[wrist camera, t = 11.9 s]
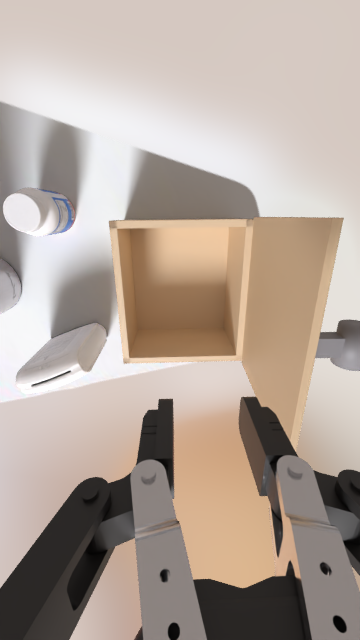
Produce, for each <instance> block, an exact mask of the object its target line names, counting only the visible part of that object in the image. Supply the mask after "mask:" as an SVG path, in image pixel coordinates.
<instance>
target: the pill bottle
mask: <svg viewBox="0 0 360 640" xmlns="http://www.w3.org/2000/svg"><path fill="white" fill-rule="evenodd" d="M3 213H4V216H5V219H6V220H7V222H8V223H9V224H10V225H11V226H12V227H13V228H14V229H16V230H18V231H21V232H25V233H27V234H29V235H32V236H46V235H51V234H57V233H62V232H65V231H67V230H69V229H70V228H71V227H72V225H73V224H74V221H75V211H74V208H73V206H72V204H71V202H70V201H69V200H68V199H67V198H66V197H65V196H64V195H62V194H60V193H57V192H52V191H47V190H41V189H36V188H24V189H21V190H19V191H17V192H16V193H14V194H11V195H9V196H8V197H7V198H6V199H5V201H4V203H3Z"/></svg>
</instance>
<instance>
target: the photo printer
mask: <svg viewBox="0 0 360 640" xmlns="http://www.w3.org/2000/svg"><path fill="white" fill-rule="evenodd" d="M106 336H107V333H106V330H105V329H104V327H103V326H101V325H100V324H98V323H92V324H89V325H85V326H82V327H80V328H77V329H74V330H72V331H69V332H66V333H64V334H61V335H59V336H56V337H54V338H52V339H51V340H49V341H48V342H47V343H46V344H45V345H44V346H43V347H42V348H41V349H40V350H39V351H38V352H37V353H36V354H35V355H34V356H33V357H32V358H31V359H30V360H29V361H28V362H27V363H26V364H25V365H24V366H23V367H22V368H21V369H20V370H19V371H18V373H17V376H16V385H17V386H18V387H19V388H20V389H21V391H22V392H24V393H38V392H43V391H47V390H51V389H54V388H57V387H60V386H62V385H65V384H67V383H70V382H72V381H74V380H76V379H78V378H80V377H82V376H84V375H85V374H87V373H88V372H89V371H90V370H91V369H92V367H93V365H94V363H95V362H96V360H97V358H98V356H99V354H100V353H101V351H102V349H103V347H104V345H105V343H106V341H107V339H106Z"/></svg>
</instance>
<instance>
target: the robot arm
mask: <svg viewBox="0 0 360 640" xmlns="http://www.w3.org/2000/svg"><path fill="white" fill-rule="evenodd" d="M20 296H21V283H20V280H19V277H18V275H17V274H16V272H15V270H14V269H13V268H12V267H11V266H10V265H9V264H8V263H7V262H6V261H4V260H2V259H1V258H0V314H2V313H3V312H5V311H7V310H9V309H10V308H12V307H13V306H14V305H16V303H17V302H18V301H19V298H20ZM158 405H159V406H158V410H148V411H147V413H146V414H145V416H144V418H143V424H142V430H141V438H140V445H139V451H138V458H137V463H136V466H135V467H134V469H133V470H132V472H131V473H130V474H129V475H127V476H126V477H124V478H122V479H120V480H117V481H114V482H111V483H107V481H106V480H104V479H103V478H99V477H93V478H89V479H86V480H84V481H83V482H81V483H80V484H79V485H78V486H77V487H76V488H75V489H74V491H73V492H72V493H71V495H70V496H69V497H68V499H67V500H66V501H65V503H64V504H63V506H62V507H61V508H60V510H59V511H58V512H57V514H56V515H55V516H54V518H53V519H52V520H51V521H50V523H49V524H48V525H47V527H46V528H45V529H44V531H43V532H42V533H41V535H40V536H39V538H38V539H37V540H36V542H35V543H34V544H33V545H32V547H31V548H30V550H29V551H28V552H27V554H26V555H25V556H24V558H23V559H22V560H21V562H20V563H19V564H18V566H17V567H16V568H15V570H14V571H13V572H12V574H11V575H10V576H9V578H8V579H7V581H6V582H5V583H4V584H3V586H2V587H1V588H0V640H69V639H70V637H71V635H72V633H73V631H74V629H75V627H76V625H77V623H78V621H79V619H80V617H81V615H82V613H83V611H84V609H85V607H86V605H87V603H88V601H89V599H90V597H91V595H92V593H93V591H94V589H95V587H96V585H97V583H98V580H99V579H100V576H101V575H102V573H103V571H104V568H105V567H106V565H107V563H108V560H109V558H110V556H111V554H112V552H113V550H114V548H115V546H117V545H120V544H121V543H124V542H126V541H129V540H131V539H133V538H135V544H136V555H137V567H138V580H139V592H140V605H141V617H142V627H141V628H140V630H139V632H138V634H137V635H136V638H135V639H134V640H360V592H359V589H358V585H357V583H356V579H355V576H354V573H353V570H352V567H353V568H354V569H355V570H356V572H357V573H358V574H359V575H360V472H358V471H354V470H343V471H341V472H340V473H339V475H338V477H334V476H330V475H327V474H322V473H319V472H316V471H314V470H313V469H312V468H311V466H310V465H309V464H308V463H307V462H306V461H304V460H303V459H301V458H299V457H298V456H297V454H296V452H295V450H294V448H293V446H292V444H291V442H290V440H289V438H288V436H287V435H286V433H285V431H284V429H283V427H282V425H281V424H280V421H279V419H278V417H277V415H276V414H275V413H274V412H273V411H272V410H271V409H270V408H269V407H261V405H260V403H259V401H258V398H257V397H242V398H241V402H240V413H239V429H240V434H241V438H242V441H243V444H244V447H245V450H246V453H247V457H248V460H249V463H250V466H251V469H252V473H253V476H254V479H255V482H256V485H257V489H258V492H259V495H260V496H268V498H269V501H270V508H269V515H270V524H271V532H272V541H273V550H274V558H275V576H273V577H270V578H268V579H265V580H263V581H261V582H258V583H256V584H254V585H252V586H249V587H247V588H238V587H235V586H232V585H228V584H225V583H222V582H218V581H215V580H211V579H197V580H193V578H192V573H191V569H190V565H189V560H188V556H187V552H186V547H185V543H184V540H183V535H182V531H181V527H180V523H179V521H177V519H176V515H175V510H174V506H173V502H172V499H174V424H173V423H174V422H173V399H159V404H158ZM351 566H352V567H351Z"/></svg>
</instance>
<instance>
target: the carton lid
mask: <svg viewBox="0 0 360 640" xmlns="http://www.w3.org/2000/svg"><path fill="white" fill-rule="evenodd" d="M343 219H344V218H305V217H300V218H298V217H254V223H253V234H252V246H251V258H250V269H249V281H248V292H247V304H246V315H245V327H244V339H243V350H242V364H243V367H244V369H245V371H246V374H247V376H248V379H249V381H250V383H251V385H252V388H253V390H254V393H255V395H256V397H257V398H258V401H259V403H260V405H261V407H269V408H270V409H271V410H272V411H273V412H274V413H275V414H276V415H277V417H278V419H279V421H280V424H281V425H282V427H283V429H284V431H285V433H286V435H287V436H288V438H289V440H290V442H291V444H292V446H293V448H294V450H295V452H296V449H297V443H298V439H299V434H300V429H301V424H302V419H303V414H304V409H305V405H306V400H307V395H308V390H309V385H310V380H311V375H312V370H313V366H314V360H315V358H330V360H331V362H332V363H333V364H335V365H336V366H338V367H340V368H343V369H346V370H351V371H360V321H357V320H341V321H339V323H338V327H337V332H320V331H321V326H322V321H323V317H324V311H325V307H326V302H327V297H328V291H329V286H330V282H331V277H332V272H333V268H334V263H335V258H336V253H337V247H338V243H339V238H340V233H341V228H342V223H343Z"/></svg>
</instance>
